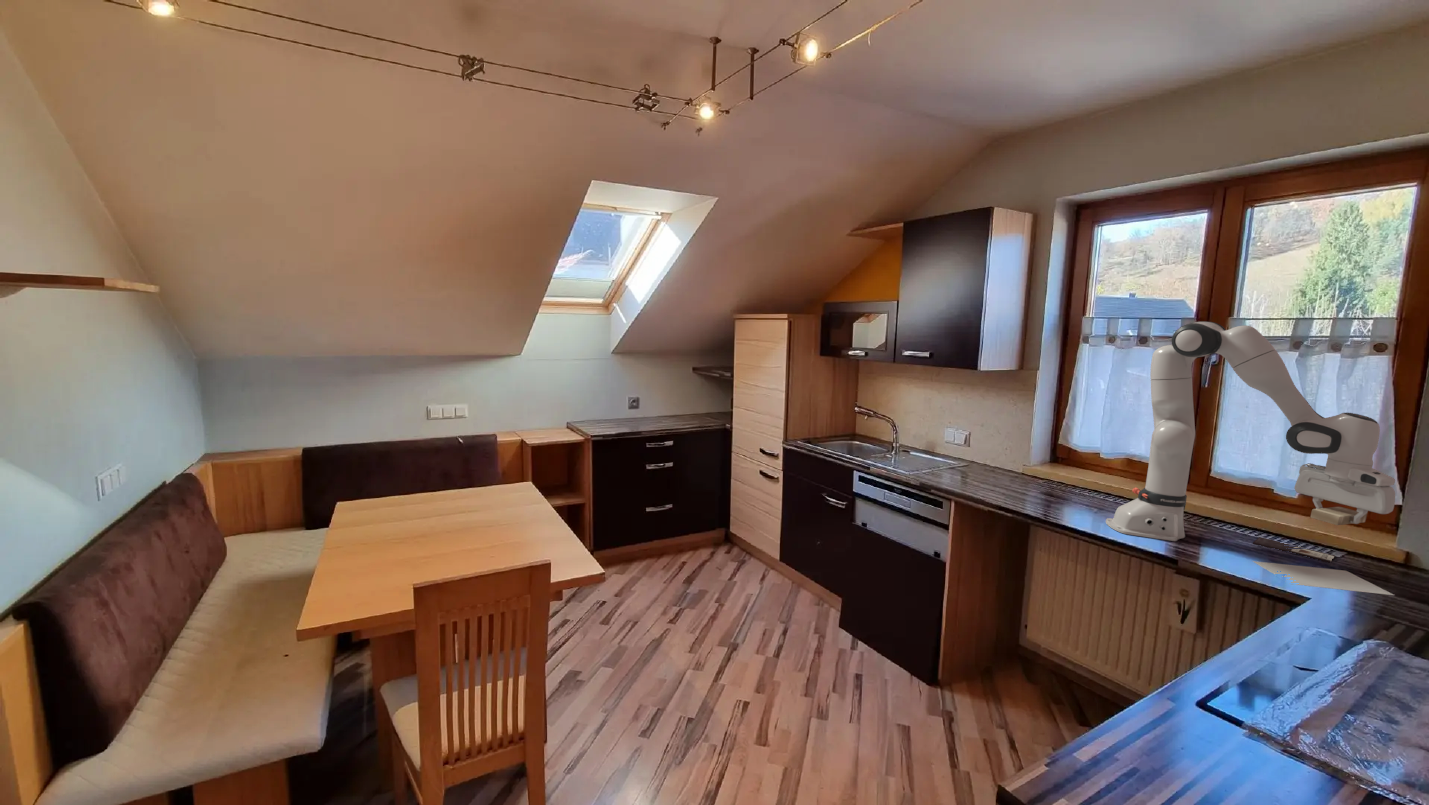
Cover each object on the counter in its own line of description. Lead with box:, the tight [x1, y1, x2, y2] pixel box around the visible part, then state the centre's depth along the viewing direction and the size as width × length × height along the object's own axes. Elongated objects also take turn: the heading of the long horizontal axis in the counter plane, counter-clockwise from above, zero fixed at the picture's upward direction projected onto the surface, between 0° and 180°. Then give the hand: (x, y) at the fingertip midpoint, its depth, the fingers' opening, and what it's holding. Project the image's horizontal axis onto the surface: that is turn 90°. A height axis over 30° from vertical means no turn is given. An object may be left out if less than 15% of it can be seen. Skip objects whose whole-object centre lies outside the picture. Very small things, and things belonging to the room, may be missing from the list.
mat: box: [1252, 560, 1394, 596], centre depth 171 cm, size 24×16×1 cm, turn 79°
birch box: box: [1309, 506, 1368, 526], centre depth 170 cm, size 3×6×13 cm
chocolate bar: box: [1252, 536, 1336, 564], centre depth 193 cm, size 9×1×18 cm
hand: (1336, 518), depth 170 cm, fingers closed on birch box, 6 cm apart
